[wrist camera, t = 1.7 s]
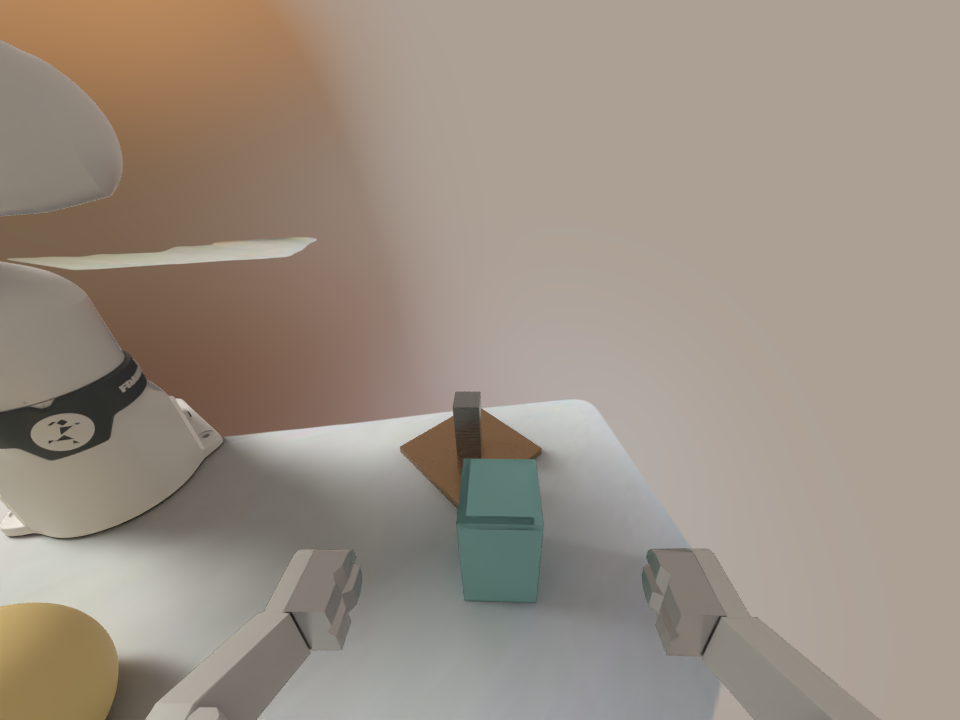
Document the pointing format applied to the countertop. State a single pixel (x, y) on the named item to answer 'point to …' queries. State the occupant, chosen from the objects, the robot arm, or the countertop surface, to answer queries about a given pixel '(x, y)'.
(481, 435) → the brown square base plate
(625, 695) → the countertop surface
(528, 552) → the teal tall prism
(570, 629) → the countertop surface
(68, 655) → the sculpture
